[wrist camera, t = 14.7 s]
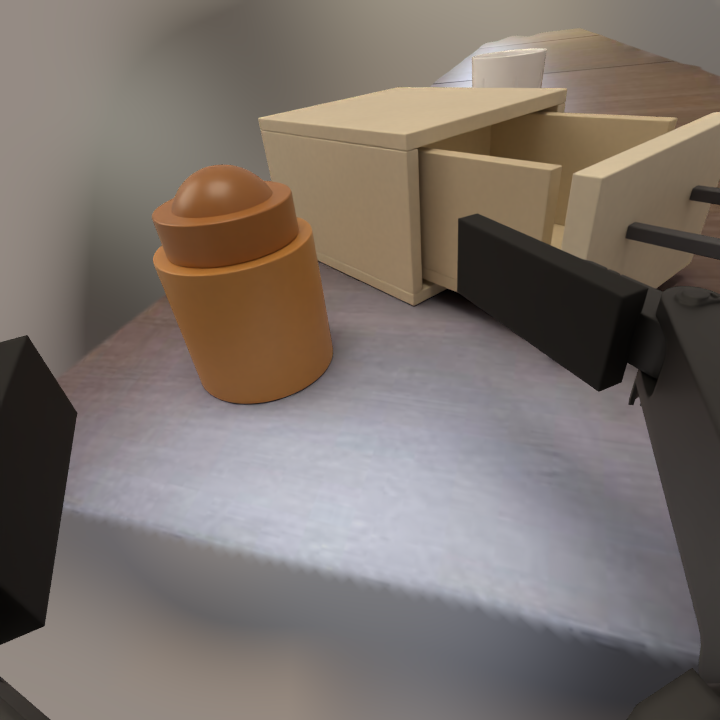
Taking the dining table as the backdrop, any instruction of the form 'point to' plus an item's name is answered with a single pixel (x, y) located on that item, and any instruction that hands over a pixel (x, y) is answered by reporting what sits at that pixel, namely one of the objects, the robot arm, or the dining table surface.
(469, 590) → the dining table surface
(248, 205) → the orange dome-capped jar
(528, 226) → the drawer
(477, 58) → the white cup
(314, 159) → the cabinet
